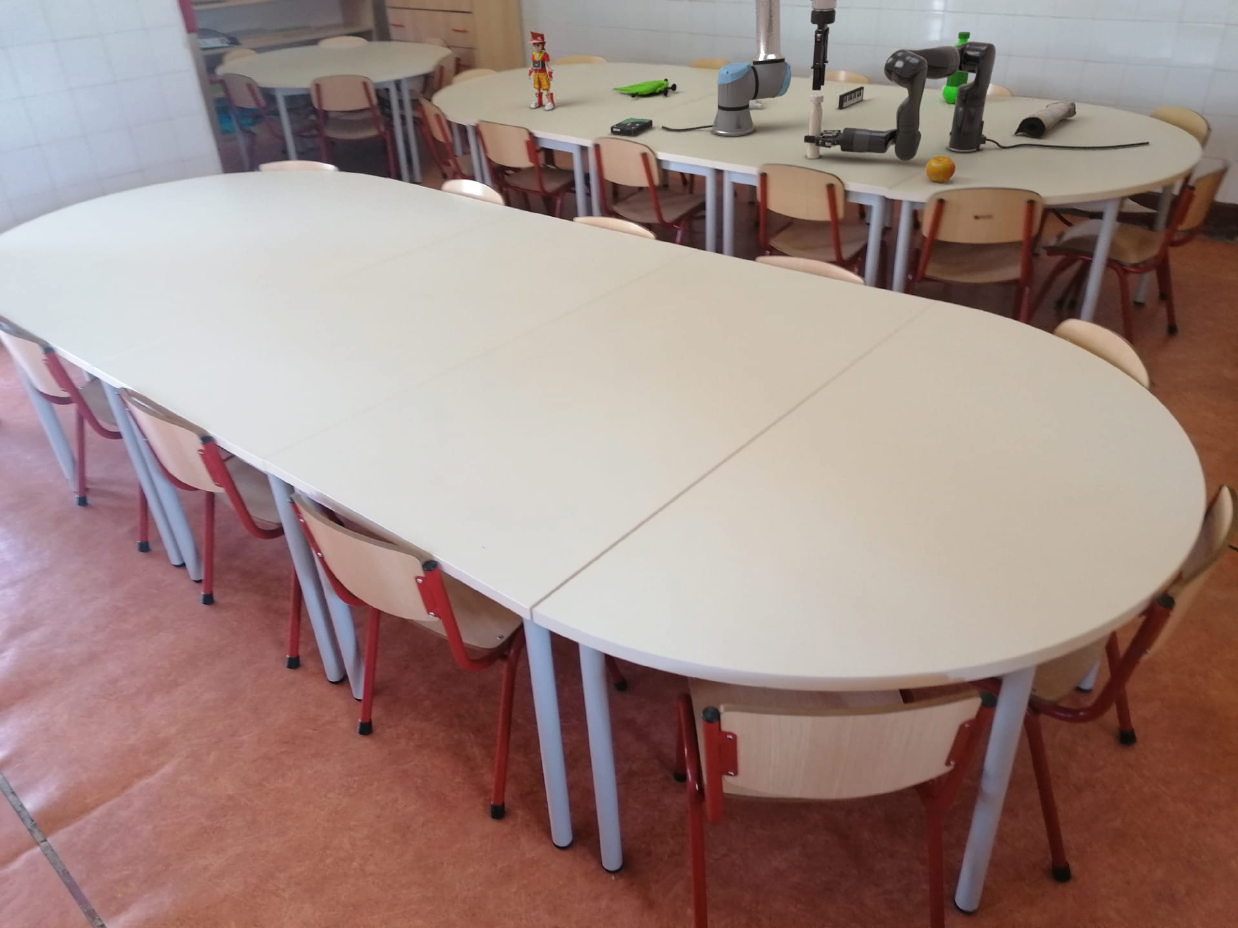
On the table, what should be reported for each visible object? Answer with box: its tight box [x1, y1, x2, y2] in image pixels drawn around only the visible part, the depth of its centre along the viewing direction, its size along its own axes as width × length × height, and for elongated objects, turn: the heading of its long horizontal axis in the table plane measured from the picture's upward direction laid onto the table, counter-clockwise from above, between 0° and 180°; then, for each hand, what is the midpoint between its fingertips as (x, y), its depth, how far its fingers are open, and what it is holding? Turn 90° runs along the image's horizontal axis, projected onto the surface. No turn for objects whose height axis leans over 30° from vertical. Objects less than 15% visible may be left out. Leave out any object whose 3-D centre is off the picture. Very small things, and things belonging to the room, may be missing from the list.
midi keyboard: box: [837, 85, 865, 110], centre depth 359 cm, size 18×1×5 cm, turn 138°
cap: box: [810, 93, 825, 104], centre depth 294 cm, size 4×4×2 cm
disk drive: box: [610, 117, 653, 136], centre depth 344 cm, size 10×3×15 cm
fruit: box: [925, 155, 956, 183], centre depth 276 cm, size 8×8×8 cm
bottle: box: [806, 103, 824, 160], centre depth 300 cm, size 4×4×20 cm
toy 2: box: [612, 78, 677, 99], centre depth 396 cm, size 28×5×30 cm
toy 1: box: [527, 31, 556, 111], centre depth 374 cm, size 12×9×30 cm
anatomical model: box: [749, 99, 763, 110], centre depth 365 cm, size 15×10×10 cm
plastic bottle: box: [942, 31, 971, 104], centre depth 348 cm, size 10×10×25 cm
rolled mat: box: [1014, 100, 1077, 139], centre depth 318 cm, size 30×9×10 cm
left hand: (818, 87), depth 292 cm, fingers open, 6 cm apart
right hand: (806, 137), depth 303 cm, fingers closed on bottle, 4 cm apart
